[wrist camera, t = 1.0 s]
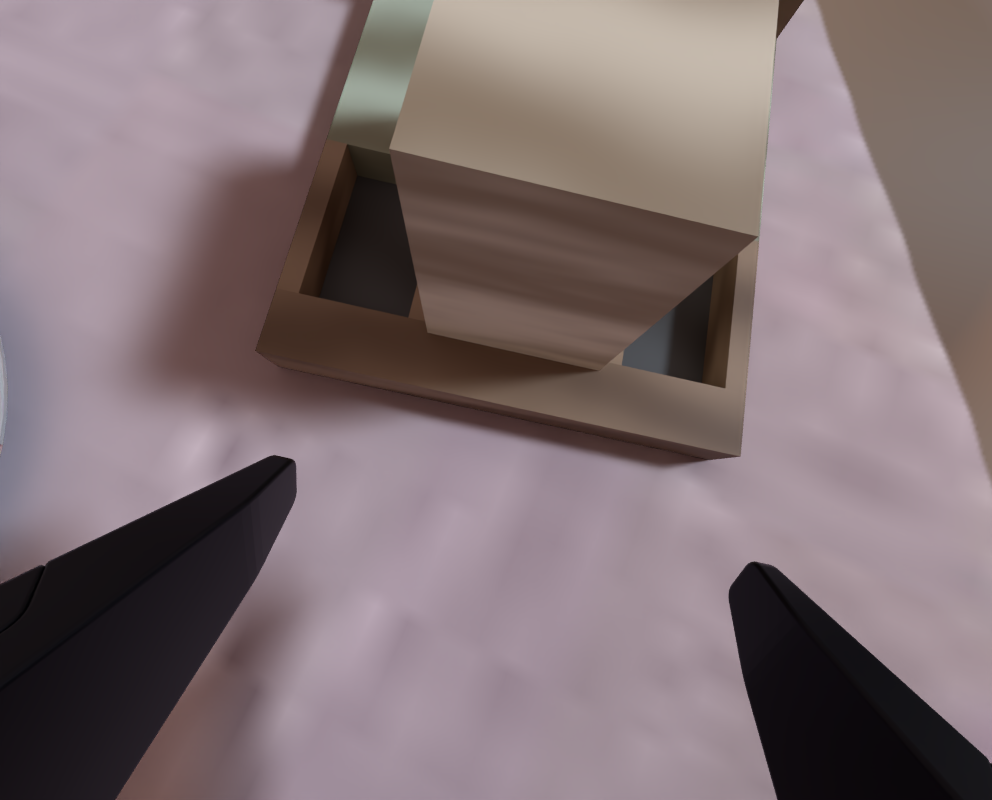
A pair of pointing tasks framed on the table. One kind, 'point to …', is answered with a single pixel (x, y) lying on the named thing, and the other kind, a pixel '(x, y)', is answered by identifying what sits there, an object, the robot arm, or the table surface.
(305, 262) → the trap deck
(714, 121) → the birch block
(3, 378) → the ceramic plate
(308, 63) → the table surface
